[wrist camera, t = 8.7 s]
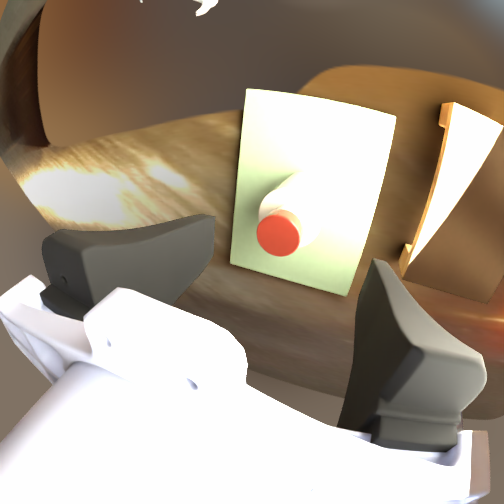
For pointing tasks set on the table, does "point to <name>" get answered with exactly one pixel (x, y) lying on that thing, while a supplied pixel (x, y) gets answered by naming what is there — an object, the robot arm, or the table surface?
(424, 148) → the table surface
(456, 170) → the small bench
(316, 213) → the spice bottle
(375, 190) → the mat
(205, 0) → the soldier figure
